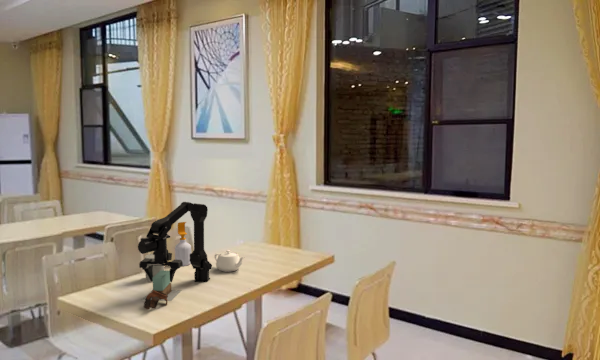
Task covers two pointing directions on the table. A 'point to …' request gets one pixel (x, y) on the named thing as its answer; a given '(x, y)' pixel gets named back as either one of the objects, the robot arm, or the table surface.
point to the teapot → (228, 261)
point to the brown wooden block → (163, 291)
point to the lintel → (161, 280)
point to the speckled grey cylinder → (155, 268)
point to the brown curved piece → (154, 299)
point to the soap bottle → (182, 246)
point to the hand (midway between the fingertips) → (161, 281)
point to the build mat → (170, 295)
